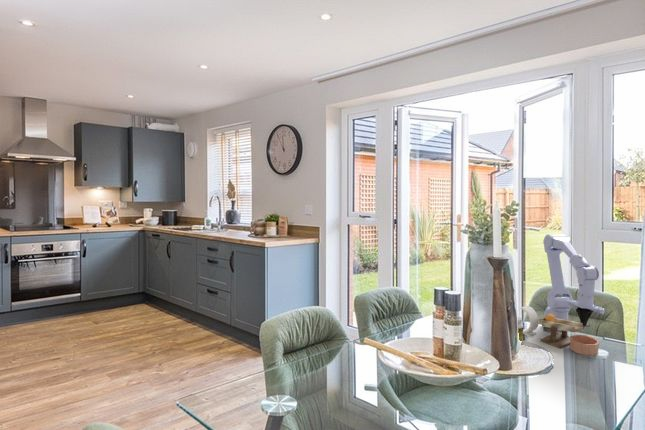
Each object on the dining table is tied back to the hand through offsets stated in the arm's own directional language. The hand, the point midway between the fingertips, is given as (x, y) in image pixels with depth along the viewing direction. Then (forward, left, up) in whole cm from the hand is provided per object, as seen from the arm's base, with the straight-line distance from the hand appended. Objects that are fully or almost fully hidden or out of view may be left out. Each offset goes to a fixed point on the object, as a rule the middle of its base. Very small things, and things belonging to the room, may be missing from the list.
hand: (583, 325), depth 189 cm
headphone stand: (-19, -9, -9) cm, 23 cm away
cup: (+3, -6, -8) cm, 11 cm away
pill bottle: (-17, -23, -9) cm, 30 cm away
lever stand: (-7, -6, -8) cm, 12 cm away
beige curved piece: (-6, -3, -4) cm, 8 cm away
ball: (-11, -6, +1) cm, 13 cm away
